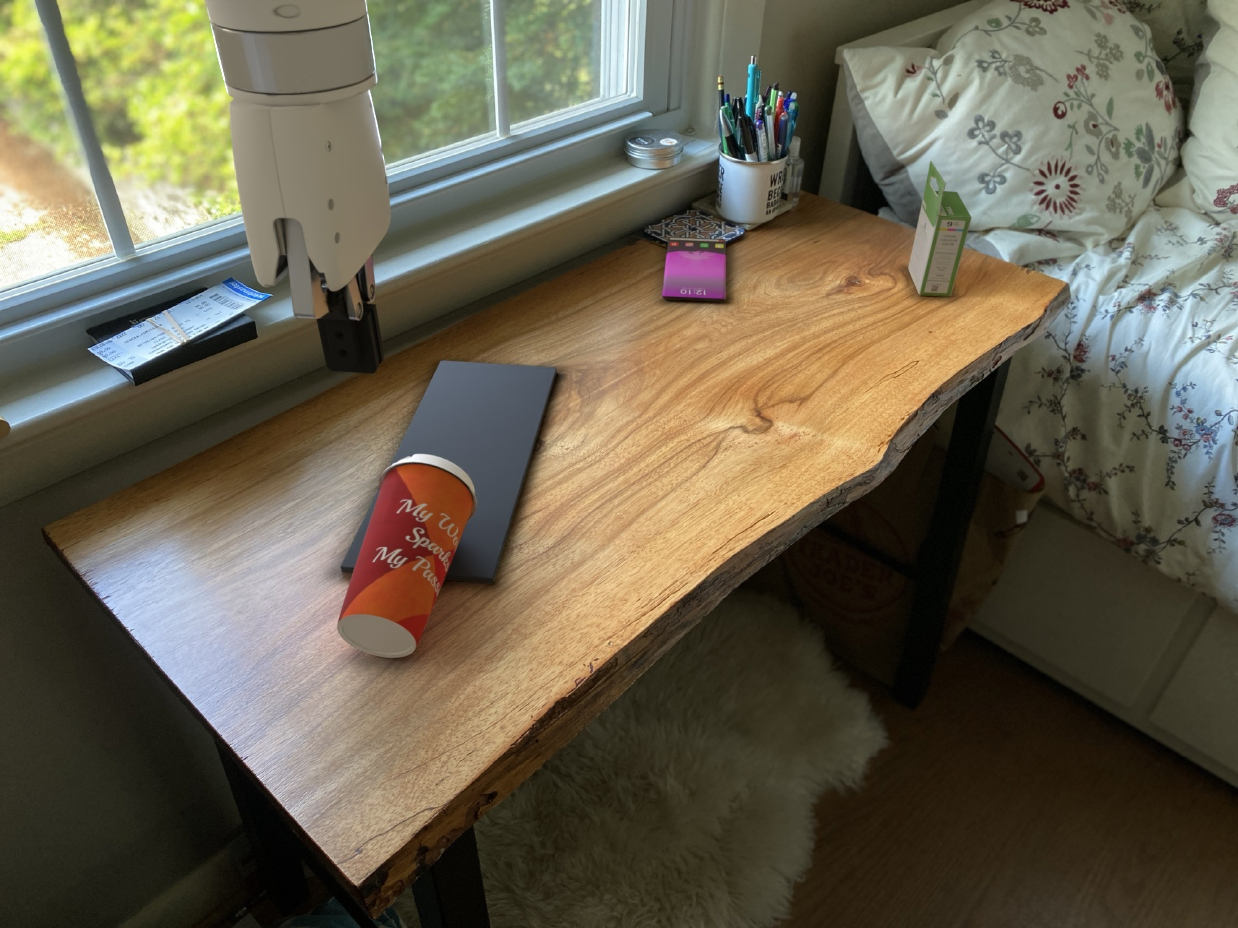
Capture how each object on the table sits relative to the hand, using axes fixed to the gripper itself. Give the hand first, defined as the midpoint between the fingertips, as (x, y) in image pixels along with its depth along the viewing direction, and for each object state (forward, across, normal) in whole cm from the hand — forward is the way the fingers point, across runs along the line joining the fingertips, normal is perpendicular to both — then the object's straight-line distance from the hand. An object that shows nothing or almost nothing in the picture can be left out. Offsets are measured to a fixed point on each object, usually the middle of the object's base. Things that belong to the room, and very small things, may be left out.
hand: (356, 365), depth 58 cm
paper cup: (+18, +7, +1) cm, 19 cm away
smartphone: (+19, -55, +20) cm, 61 cm away
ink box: (+19, -55, +47) cm, 75 cm away
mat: (+20, -17, +1) cm, 26 cm away
